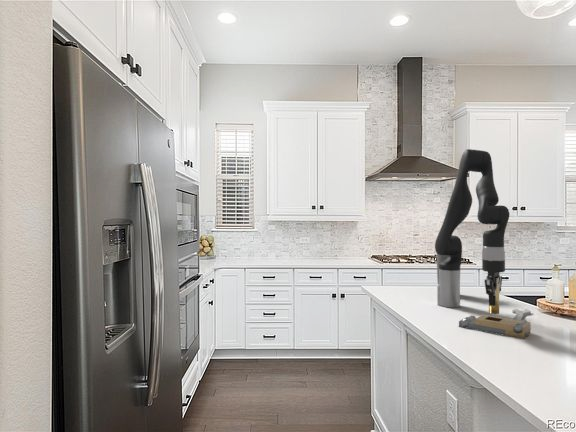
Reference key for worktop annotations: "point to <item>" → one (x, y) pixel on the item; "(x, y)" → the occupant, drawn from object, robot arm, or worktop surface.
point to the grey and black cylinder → (439, 259)
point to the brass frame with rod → (498, 325)
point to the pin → (496, 308)
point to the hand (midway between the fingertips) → (493, 304)
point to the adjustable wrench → (520, 314)
